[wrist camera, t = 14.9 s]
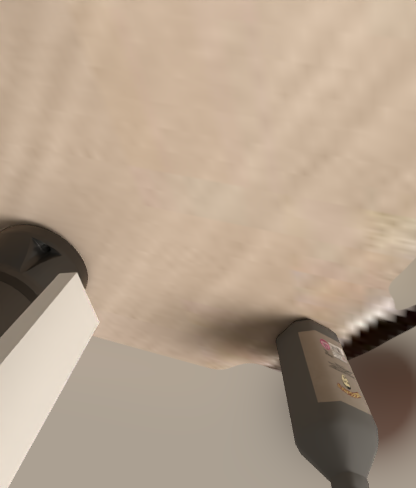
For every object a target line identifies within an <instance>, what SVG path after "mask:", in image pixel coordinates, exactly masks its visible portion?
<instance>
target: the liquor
mask: <svg viewBox="0 0 416 488" xmlns="http://www.w3.org/2000/svg"><path fill="white" fill-rule="evenodd" d="M276 344H277V349H278V354H279V360H280V365H281V370H282V375H283V381H284V386H285V391H286V396H287V402H288V407H289V412H290V418H291V422H292V428H293V433H294V438H295V444H296V445H297V448H298V449H299V451H300V453H301V454H302V455H303V456H304V457H305V458H306V459H307V460H308V461H309V462H310V463H311V464H312V465H313V466H314V467H315V468H316V469H317V470H319V471H320V472H321V473H322V474H323V475H324V476H325V477H326V478H327V479H328V480H329V481H330V482H331V486H332V488H369V484H368V481H367V476H368V474H369V471H370V468H371V466H372V463H373V461H374V458H375V455H376V452H377V449H378V429H377V426H376V424H375V422H374V419H373V417H372V415H371V413H370V410H369V408H368V406H367V404H366V402H365V399H364V397H363V394H362V392H361V390H360V388H359V385H358V383H357V381H356V379H355V376H354V374H353V372H352V369H351V367H350V365H349V363H348V360H347V358H346V356H345V354H344V351H343V349H342V347H341V344H340V342H339V340H338V338H337V335H336V334H335V333H334V332H333V331H331V330H329V329H327V328H326V327H324V326H322V325H320V324H318V323H316V322H314V321H312V320H310V319H308V320H300V321H295V322H294V323H293V324H291V325H290V326H289V327H288V328H287V329H286V330H285V331H284V332H283V333H282V334H281V335H279V336H278V338H277V340H276Z"/></svg>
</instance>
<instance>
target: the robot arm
mask: <svg viewBox="0 0 416 488" xmlns="http://www.w3.org/2000/svg"><path fill="white" fill-rule="evenodd" d="M87 282H88V274H87V269H86V266H85V264H84V261H83V260H82V258H81V256H80V255H79V253H78V252H77V251H76V250H75V249H74V248H73V247H72V246H71V245H70V244H69V243H68V242H67V241H66V240H64V239H63V238H61V237H60V236H58V235H57V234H55V233H53V232H51V231H49V230H46V229H43V228H40V227H36V226H31V225H16V226H11V227H8V228H6V229H4V230H3V231H1V232H0V488H8V487H9V485H10V483H11V481H12V479H13V477H14V476H15V474H16V472H17V470H18V469H19V467H20V465H21V463H22V461H23V459H24V458H25V456H26V454H27V452H28V451H29V449H30V447H31V445H32V443H33V441H34V440H35V438H36V436H37V434H38V433H39V431H40V429H41V427H42V425H43V423H44V422H45V420H46V418H47V416H48V414H49V413H50V411H51V409H52V407H53V405H54V404H55V402H56V400H57V398H58V396H59V394H60V393H61V391H62V389H63V387H64V386H65V384H66V382H67V380H68V378H69V376H70V375H71V372H72V371H73V369H74V367H75V366H76V364H77V362H78V360H79V358H80V357H81V355H82V353H83V351H84V349H85V348H86V346H87V344H88V342H89V340H90V339H91V337H92V335H93V333H94V331H95V329H96V328H97V326H98V324H99V320H98V318H97V316H96V314H95V311H94V309H93V307H92V305H91V302H90V300H89V298H88V296H87V293H86V291H85V288H86V286H87Z"/></svg>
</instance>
